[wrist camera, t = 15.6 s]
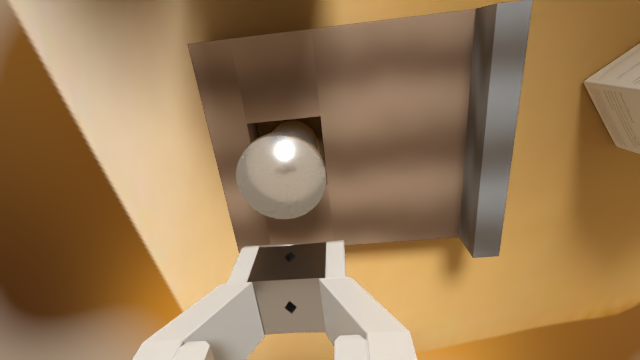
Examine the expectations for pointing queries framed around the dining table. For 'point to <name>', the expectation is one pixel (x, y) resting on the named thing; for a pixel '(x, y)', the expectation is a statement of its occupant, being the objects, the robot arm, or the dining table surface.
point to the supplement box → (619, 98)
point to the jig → (379, 123)
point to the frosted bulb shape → (283, 172)
